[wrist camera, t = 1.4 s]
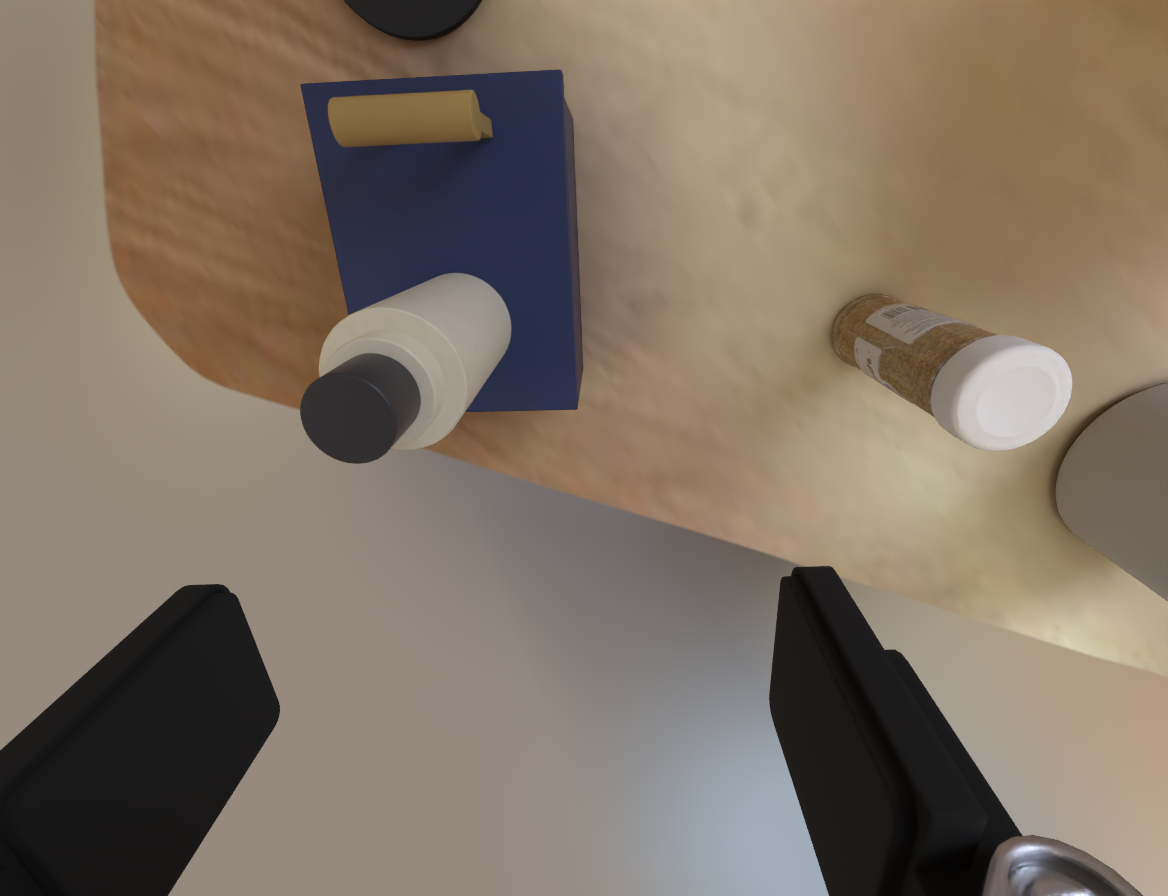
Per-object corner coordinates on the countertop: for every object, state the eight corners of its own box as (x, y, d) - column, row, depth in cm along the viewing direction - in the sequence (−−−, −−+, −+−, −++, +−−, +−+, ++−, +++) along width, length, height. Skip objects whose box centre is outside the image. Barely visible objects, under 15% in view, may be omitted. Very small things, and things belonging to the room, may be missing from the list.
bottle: (396, 285, 26) (224, 351, 15) (495, 262, 26) (401, 312, 14) (429, 383, 28) (302, 512, 17) (522, 364, 28) (460, 484, 16)
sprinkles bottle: (819, 358, 35) (935, 444, 23) (846, 285, 33) (987, 335, 21) (889, 371, 35) (1041, 463, 23) (919, 299, 33) (1103, 357, 21)
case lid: (308, 87, 24) (231, 57, 19) (563, 73, 23) (551, 38, 18) (374, 409, 30) (329, 450, 25) (578, 404, 29) (572, 445, 25)
